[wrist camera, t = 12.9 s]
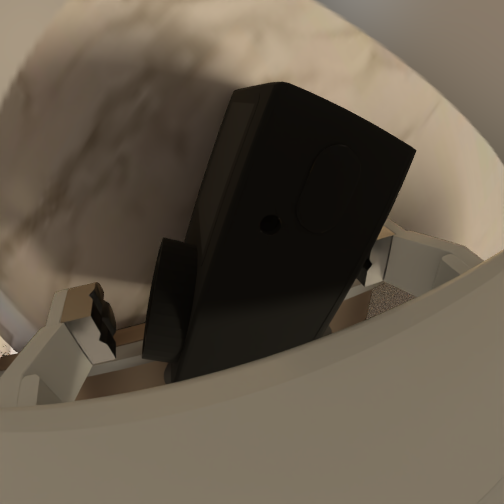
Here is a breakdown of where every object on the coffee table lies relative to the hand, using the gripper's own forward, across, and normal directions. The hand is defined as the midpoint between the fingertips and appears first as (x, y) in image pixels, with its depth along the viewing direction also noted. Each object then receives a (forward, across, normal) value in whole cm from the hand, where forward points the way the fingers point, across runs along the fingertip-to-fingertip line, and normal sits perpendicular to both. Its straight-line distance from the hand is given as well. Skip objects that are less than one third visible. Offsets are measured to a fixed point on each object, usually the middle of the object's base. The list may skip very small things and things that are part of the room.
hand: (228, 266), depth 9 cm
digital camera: (+5, -1, 0) cm, 5 cm away
